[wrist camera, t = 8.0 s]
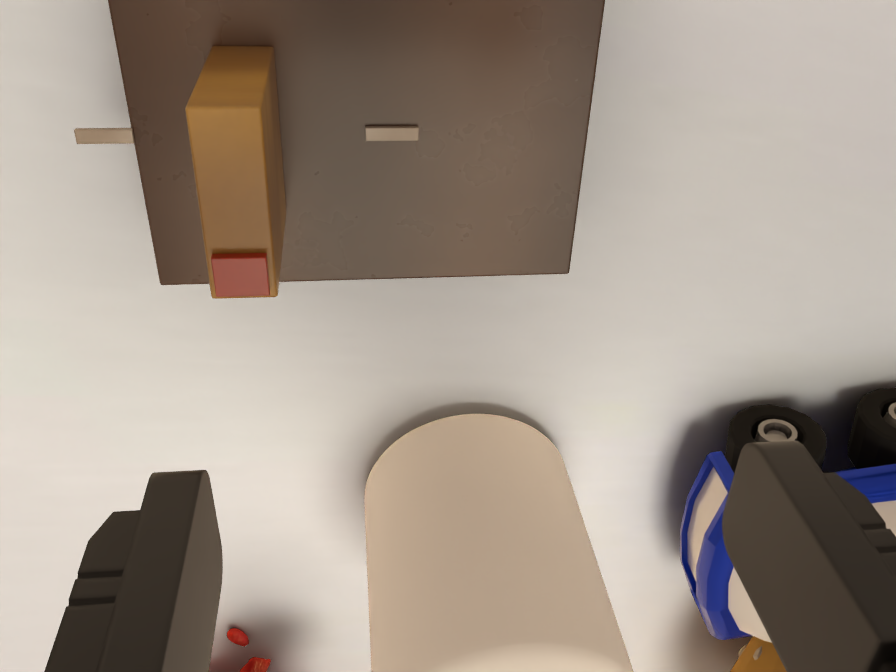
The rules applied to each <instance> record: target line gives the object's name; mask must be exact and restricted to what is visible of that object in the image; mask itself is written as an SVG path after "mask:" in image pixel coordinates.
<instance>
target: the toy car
mask: <svg viewBox="0 0 896 672" xmlns="http://www.w3.org/2000/svg"><path fill="white" fill-rule="evenodd" d="M793 440H795V441H798V442H800V443H801V444H803V445H804V447H805V448H806V449H807V450H808V452H809V453H810V455H811V456H812V458H813V459H814V460H815V462H816V463H817V465H818V466H819V468H820V469H822V464H823V460H824V456H825V452H826V435H825V433H824V432H823V430H822V429H821V427H820V425H819V424H818V423H816V422H815V421H814V420H812V419H811V418H810V417H808V416H807V415H806V414H803V413H801V412H798V411H796V410H793V409H791V408H788V407H782V406H775V405H761V406H752V407H749V408H747V409H745V410H742V411H740V412H738V413H737V414H736V415H735V416H734V418H733V419H732V420H731V421H730V427H729V433H728V440H727V447H726V454H725V456H724V454H723V453H722V451H717V452H711V453H709V454H708V455H707V456H706V458H705V460H704V463H703V465H702V467H701V469H700V471H699V473H698V475H697V477H696V479H695V481H694V483H693V485H692V488H691V490H690V492H689V494H688V496H687V500H686V505H685V509H684V514H683V518H682V523H681V527H680V560H681V563H682V566H683V569H684V572H685V575H686V578H687V581H688V584H689V587H690V590H691V593H692V595H693V597H694V600H695V602H696V604H697V606H698V609H699V611H700V613H701V615H702V617H703V620H704V622H705V624H706V626H707V629H708V631H709V633H710V635H712V636H713V637H715V638H716V639H719V640H728V639H735V638H742V637H749V636H755V637H757V638H759V639H761V640H764V641H767V642H771V640H770V638H769V636H768V634H767V632H766V630H765V628H764V626H763V624H762V622H761V620H760V618H759V616H758V614H757V612H756V610H755V608H754V606H753V604H752V602H751V600H750V598H749V596H748V594H747V592H746V590H745V588H744V586H743V584H742V582H741V580H740V578H739V576H738V574H737V572H736V570H735V568H734V566H733V564H732V562H731V560H730V558H729V556H728V554H727V551H726V548H725V545H724V540H723V534H722V517H723V512H724V508H725V505H726V501H727V498H728V494H729V491H730V487H731V483H732V480H733V476H734V473H735V469H736V466H737V462H738V459H739V455H740V452H741V450H742V448H743V447H744V445H746V444H747V443H755V442H774V441H793ZM848 457H849V459H850V460H851V462H852V463H853V465H854V466H855V467H852V468H848V469H844V470H840V471H836V472H835V473H836V474H838V475H839V476H840V477H842V478H843V479H844V480H846V481H847V482H848V483H850V484H851V485H852V486H854V487H855V488H856V489H857V490H859V491H860V492H861V493H863V494H864V495H865V496H866V497H867V498H868V500H869V501H870V502H871V504H872V505H873V506H874V508H875V509H876V510H877V512H878V513H879V515H880V516H881V517H882V519H883V520H884V521H885V523H886V528H887V529H891V531H892V532H893V533H894V535H895V536H896V388H886V389H877V390H875V391H873V392H870V393H868V394H866V395H864V397H863V398H862V399H861V401H860V402H859V403H858V406H857V410H856V414H855V418H854V422H853V426H852V430H851V434H850V438H849V442H848ZM771 643H772V642H771Z"/></svg>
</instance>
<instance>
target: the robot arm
mask: <svg viewBox="0 0 896 672" xmlns="http://www.w3.org/2000/svg"><path fill="white" fill-rule="evenodd" d="M722 534H723V540H724V545H725V548H726V551H727V554H728V556H729V558H730V560H731V562H732V564H733V566H734V568H735V570H736V572H737V574H738V576H739V578H740V580H741V582H742V584H743V586H744V588H745V590H746V592H747V594H748V596H749V598H750V600H751V602H752V604H753V606H754V608H755V610H756V612H757V614H758V616H759V618H760V620H761V622H762V624H763V626H764V628H765V630H766V632H767V634H768V636H769V638H770V640H771V642H772V644H773V646H774V648H775V650H776V652H777V654H778V656H779V658H780V660H781V662H782V664H783V666H784V668H785V669H786V671H787V672H896V536H895V535H894V533H893V532H892V531H891V529H887V528H886V523H885V521H884V520H883V519H882V517H881V516H880V515H879V513H878V512H877V510H876V509H875V508H874V506H873V505H872V504H871V502H870V501H869V500H868V498H867V497H866V496H865V495H864V494H863V493H861V492H860V491H859V490H857V489H856V488H855V487H854V486H852V485H851V484H850V483H848V482H847V481H846V480H844V479H843V478H842V477H840V476H839V475H838V474H836V473H835V472H831V473H823V472H822V470H821V469H820V468H819V466H818V465H817V463H816V462H815V460H814V459H813V458H812V456H811V455H810V453H809V452H808V450H807V449H806V448H805V447H804V445H803V444H801V443H800V442H798V441H795V440H793V441H774V442H755V443H747V444H746V445H744V447H743V448H742V450H741V452H740V455H739V459H738V462H737V466H736V469H735V473H734V476H733V480H732V483H731V487H730V491H729V494H728V498H727V501H726V505H725V508H724V512H723V517H722ZM222 568H223V566H222V546H221V539H220V534H219V528H218V523H217V517H216V511H215V506H214V500H213V495H212V489H211V483H210V478H209V475H208V472H207V471H206V470H195V471H176V472H157V473H152V475H151V476H150V478H149V481H148V485H147V488H146V492H145V495H144V499H143V503H142V506H141V510H137V511H120V512H113V513H112V514H111V515H110V516H109V518H108V519H107V520H106V521H105V522H104V523H103V525H102V526H101V527H100V528H99V529H98V530H97V532H96V533H95V534H94V535H93V536H92V537H91V538H90V540H89V541H88V544H87V547H86V550H85V553H84V556H83V559H82V562H81V565H80V568H79V571H78V579H76V580H75V582H74V585H73V588H72V591H71V594H70V597H69V606H67V607H66V609H65V612H64V615H63V618H62V621H61V624H60V627H59V630H58V633H57V636H56V639H55V642H54V645H53V648H52V651H51V654H50V657H49V660H48V663H47V666H46V669H45V672H209V665H210V658H211V652H212V645H213V639H214V632H215V625H216V619H217V612H218V606H219V599H220V592H221V585H222Z"/></svg>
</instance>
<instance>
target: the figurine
mask: <svg viewBox="0 0 896 672" xmlns="http://www.w3.org/2000/svg"><path fill="white" fill-rule="evenodd" d="M227 637H228V639H229V640H230V641H231V642H233V643H235V644H238V645H240V646H244V647H245V646H246V645H248V644H249V639H248V637H247V635H246V634H245V633H244V632H243V631H241V630H239V629H236V628H232V629H230V630H229V631H228V632H227ZM270 662H271V660H270V659H263V658H256V657H253V658H251V659H250V660H249V661H248V663H247V664H245V665H244V666H243V668H242V669H241V670H240V672H266V671H267V668H268V667H269V665H270Z"/></svg>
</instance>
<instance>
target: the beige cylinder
mask: <svg viewBox="0 0 896 672" xmlns="http://www.w3.org/2000/svg"><path fill="white" fill-rule="evenodd" d="M364 504H365V529H366V552H367V576H368V599H369V623H370V647H371V670H372V672H633V669H632V666H631V663H630V660H629V657H628V654H627V650H626V647H625V644H624V641H623V638H622V635H621V632H620V629H619V626H618V623H617V620H616V617H615V614H614V611H613V608H612V605H611V602H610V599H609V596H608V593H607V590H606V587H605V584H604V581H603V578H602V575H601V572H600V569H599V566H598V563H597V560H596V557H595V554H594V551H593V548H592V545H591V542H590V539H589V536H588V533H587V530H586V527H585V524H584V521H583V518H582V515H581V512H580V509H579V506H578V503H577V500H576V497H575V494H574V491H573V488H572V485H571V482H570V479H569V476H568V473H567V470H566V467H565V464H564V461H563V459H562V457H561V455H560V453H559V451H558V450H557V448H556V447H555V446H554V444H553V443H552V442H551V441H550V440H549V439H548V438H547V437H546V436H545V435H543V434H542V433H541V432H539V431H538V430H536V429H535V428H533V427H531V426H529V425H527V424H525V423H523V422H520V421H518V420H515V419H512V418H508V417H504V416H499V415H491V414H464V415H456V416H450V417H446V418H442V419H438V420H435V421H432V422H429V423H427V424H424V425H422V426H420V427H417V428H416V429H414V430H412V431H410V432H408V433H407V434H405V435H404V436H402V437H401V438H399V439H398V440H397V441H395V442H394V443H393V444H392V445H391V446H390V447H389V448H388V449H387V450H386V451H385V452H384V453H383V454H382V455H381V456H380V457H379V459H378V460H377V462H376V463H375V465H374V466H373V468H372V470H371V472H370V474H369V477H368V479H367V483H366V487H365V494H364Z"/></svg>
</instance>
